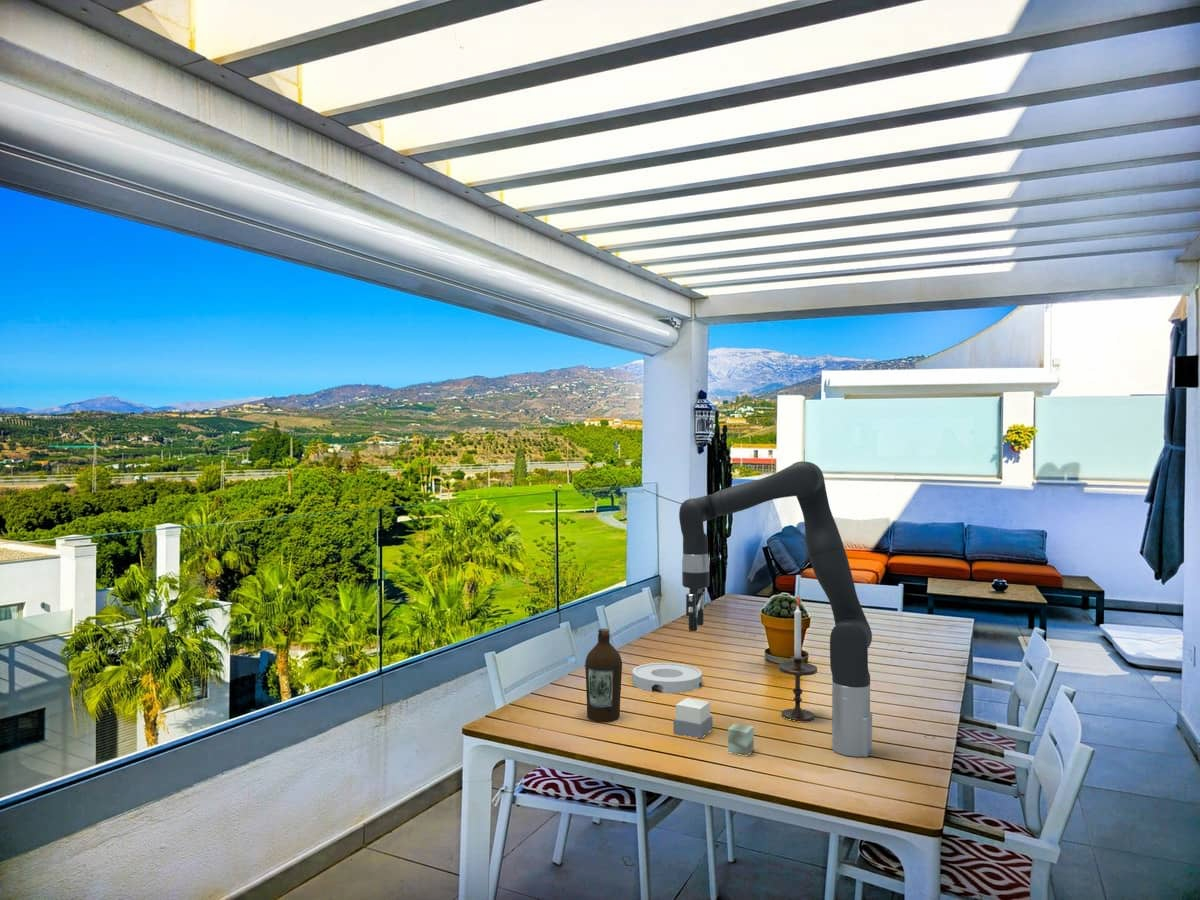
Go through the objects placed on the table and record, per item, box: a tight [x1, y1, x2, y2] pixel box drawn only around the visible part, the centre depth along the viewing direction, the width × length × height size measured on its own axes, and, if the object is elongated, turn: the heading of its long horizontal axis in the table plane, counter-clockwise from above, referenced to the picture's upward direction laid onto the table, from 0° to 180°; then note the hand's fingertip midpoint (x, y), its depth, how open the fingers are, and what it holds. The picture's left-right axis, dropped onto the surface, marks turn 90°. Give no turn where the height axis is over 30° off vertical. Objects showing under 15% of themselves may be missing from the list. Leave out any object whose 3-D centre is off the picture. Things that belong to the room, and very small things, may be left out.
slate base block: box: [672, 715, 713, 739], centre depth 210 cm, size 8×8×4 cm
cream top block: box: [675, 697, 711, 724], centre depth 210 cm, size 7×7×4 cm
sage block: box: [727, 723, 755, 756], centre depth 196 cm, size 5×5×6 cm
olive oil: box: [584, 628, 623, 723], centre depth 222 cm, size 11×11×25 cm
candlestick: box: [777, 594, 818, 722], centre depth 223 cm, size 11×11×35 cm
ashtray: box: [631, 662, 703, 694], centre depth 257 cm, size 23×23×4 cm
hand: (696, 627), depth 216 cm, fingers open, 8 cm apart
